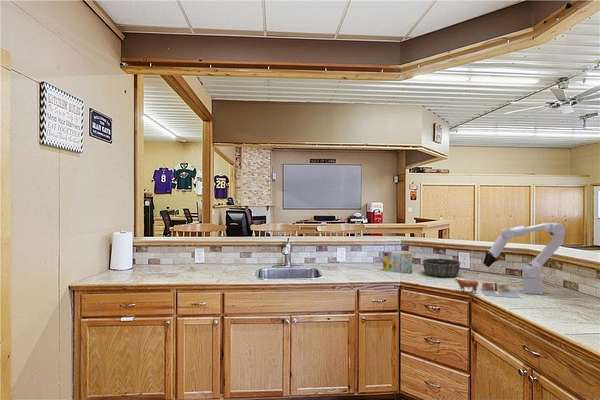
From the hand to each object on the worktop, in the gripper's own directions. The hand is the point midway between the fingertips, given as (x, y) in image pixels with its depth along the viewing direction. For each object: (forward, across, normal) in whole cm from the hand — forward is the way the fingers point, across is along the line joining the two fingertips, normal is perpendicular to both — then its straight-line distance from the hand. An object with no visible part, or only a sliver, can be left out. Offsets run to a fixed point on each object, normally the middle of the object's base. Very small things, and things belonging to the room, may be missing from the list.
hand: (485, 265), depth 222 cm
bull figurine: (+19, +10, -3) cm, 22 cm away
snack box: (+41, -40, -39) cm, 70 cm away
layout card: (+10, +8, +13) cm, 18 cm away
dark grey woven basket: (+25, -38, -12) cm, 47 cm away
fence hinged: (+12, +4, +8) cm, 15 cm away
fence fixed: (+8, +4, +15) cm, 18 cm away
